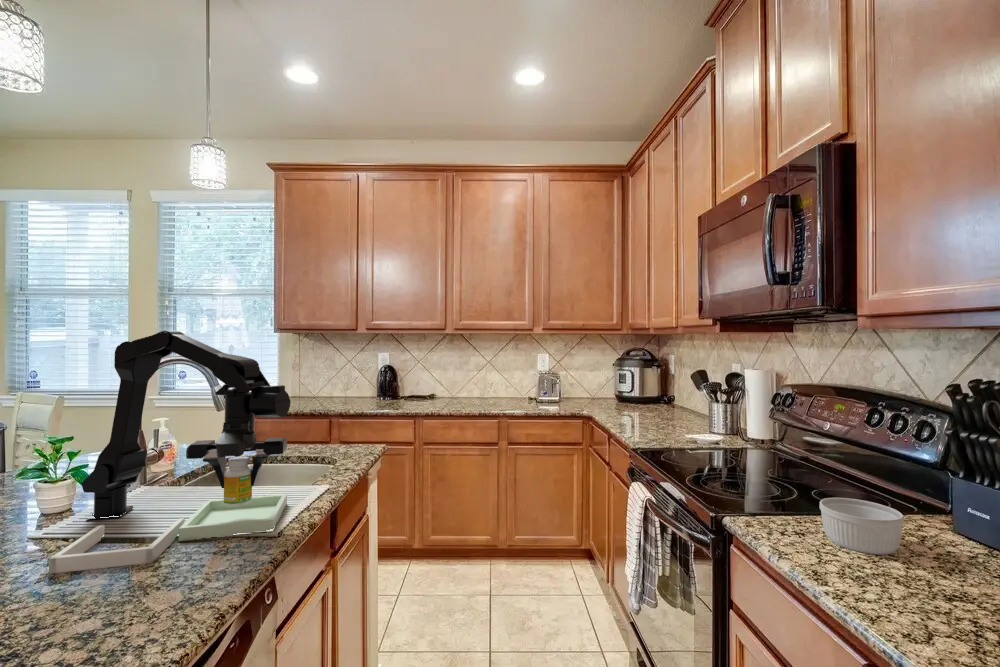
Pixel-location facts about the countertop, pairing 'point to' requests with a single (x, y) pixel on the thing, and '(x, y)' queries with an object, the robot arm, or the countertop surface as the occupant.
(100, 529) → the bay
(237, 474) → the supplement bottle
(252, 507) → the tray
